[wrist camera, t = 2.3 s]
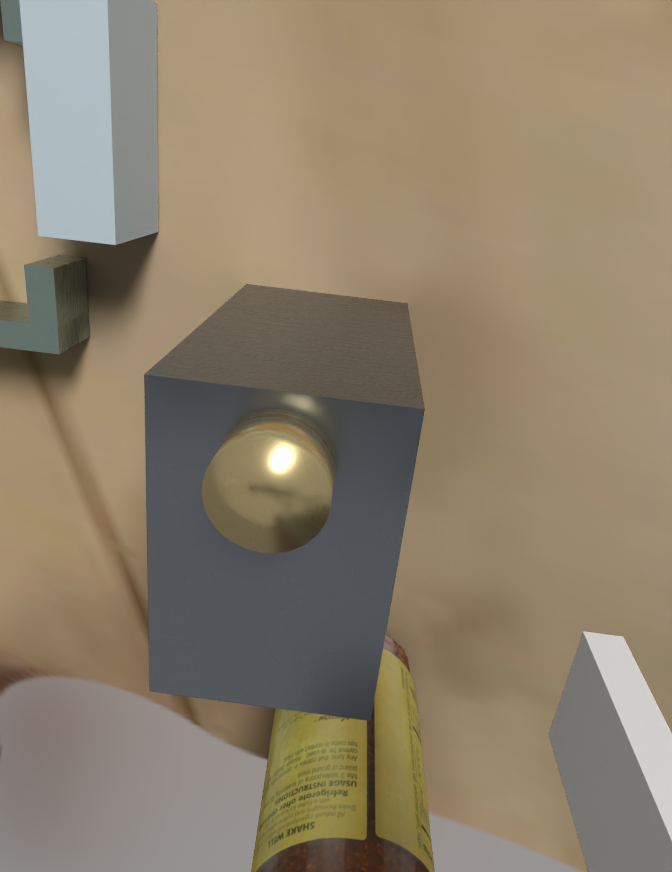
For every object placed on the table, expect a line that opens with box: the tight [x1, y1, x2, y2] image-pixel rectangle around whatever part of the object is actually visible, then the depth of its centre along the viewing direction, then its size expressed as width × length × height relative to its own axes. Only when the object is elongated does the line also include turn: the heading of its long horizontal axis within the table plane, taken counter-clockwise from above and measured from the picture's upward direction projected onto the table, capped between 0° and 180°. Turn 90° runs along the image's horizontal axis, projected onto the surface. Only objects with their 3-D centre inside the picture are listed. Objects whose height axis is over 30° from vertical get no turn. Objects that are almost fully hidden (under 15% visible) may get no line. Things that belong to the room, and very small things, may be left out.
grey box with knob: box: [144, 284, 425, 721], centre depth 20 cm, size 9×6×13 cm, turn 174°
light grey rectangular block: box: [19, 0, 158, 245], centre depth 20 cm, size 7×2×4 cm, turn 174°
